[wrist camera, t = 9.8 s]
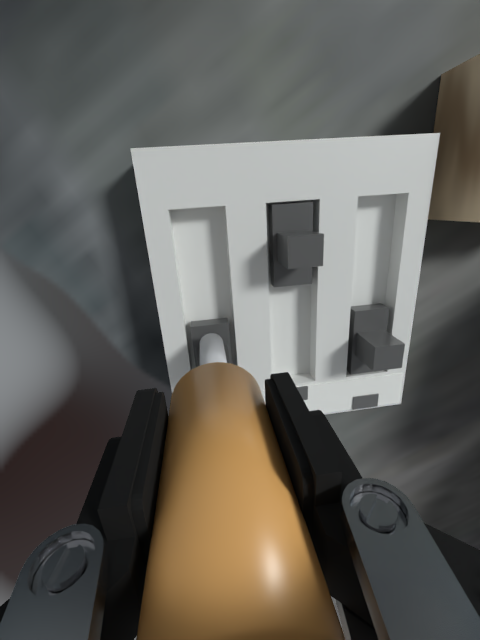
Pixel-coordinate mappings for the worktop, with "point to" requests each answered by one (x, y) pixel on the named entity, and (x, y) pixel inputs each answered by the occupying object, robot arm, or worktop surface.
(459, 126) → the stand
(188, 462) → the tan rounded cylinder
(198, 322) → the tab
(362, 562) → the robot arm
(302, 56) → the worktop surface
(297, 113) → the worktop surface
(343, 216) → the switch bank
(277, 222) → the tab
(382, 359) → the tab
